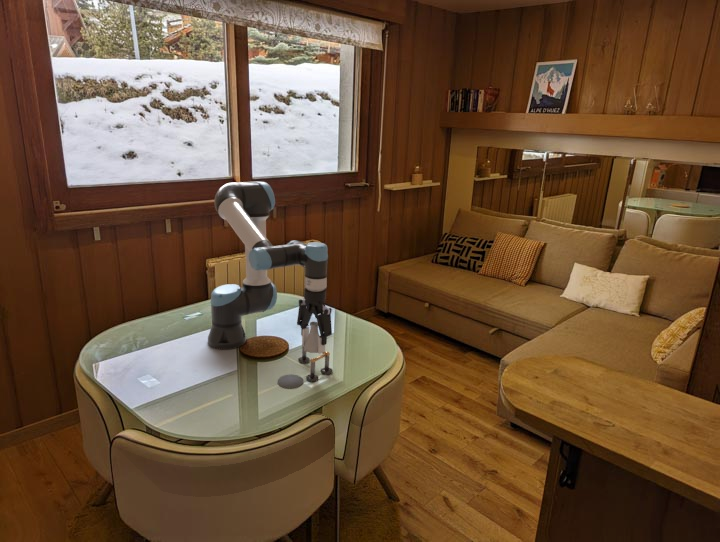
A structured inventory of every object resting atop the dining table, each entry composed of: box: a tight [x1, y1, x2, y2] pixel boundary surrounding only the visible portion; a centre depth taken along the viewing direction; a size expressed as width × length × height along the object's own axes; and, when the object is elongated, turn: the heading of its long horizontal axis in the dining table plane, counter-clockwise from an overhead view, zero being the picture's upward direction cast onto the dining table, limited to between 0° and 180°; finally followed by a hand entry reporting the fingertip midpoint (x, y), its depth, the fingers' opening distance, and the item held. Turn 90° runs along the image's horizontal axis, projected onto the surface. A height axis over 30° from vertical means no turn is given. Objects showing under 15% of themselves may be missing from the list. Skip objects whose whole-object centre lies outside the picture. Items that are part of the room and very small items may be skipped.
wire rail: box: [298, 345, 333, 383], centre depth 184 cm, size 16×12×8 cm
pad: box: [277, 374, 304, 389], centre depth 176 cm, size 9×9×1 cm
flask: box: [304, 321, 320, 354], centre depth 174 cm, size 7×7×10 cm
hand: (313, 348), depth 176 cm, fingers closed on flask, 7 cm apart
